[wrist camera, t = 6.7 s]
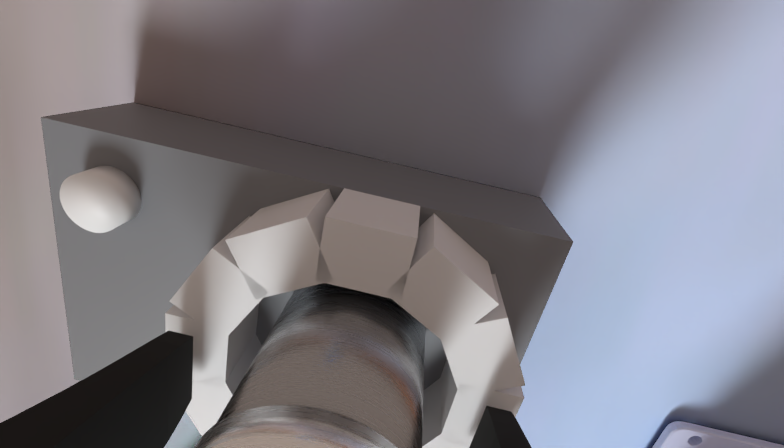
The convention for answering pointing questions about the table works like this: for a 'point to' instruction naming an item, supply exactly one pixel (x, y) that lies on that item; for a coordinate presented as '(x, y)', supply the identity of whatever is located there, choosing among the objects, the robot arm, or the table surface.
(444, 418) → the camera body
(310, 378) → the lens
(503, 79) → the table surface
